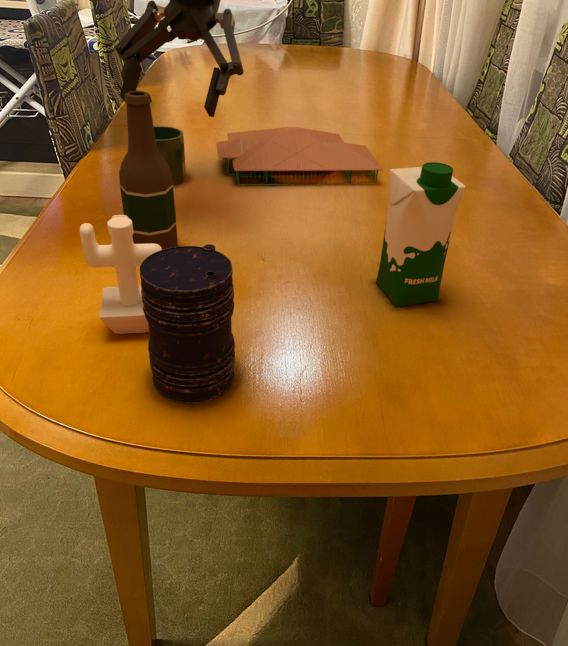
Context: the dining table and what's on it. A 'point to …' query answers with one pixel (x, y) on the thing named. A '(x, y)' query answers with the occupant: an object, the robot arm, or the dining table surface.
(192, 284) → the dark oil barrel
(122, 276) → the figurine
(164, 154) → the green mug
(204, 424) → the dining table surface
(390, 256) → the milk carton
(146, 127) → the beer bottle
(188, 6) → the robot arm
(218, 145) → the house
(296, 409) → the dining table surface
